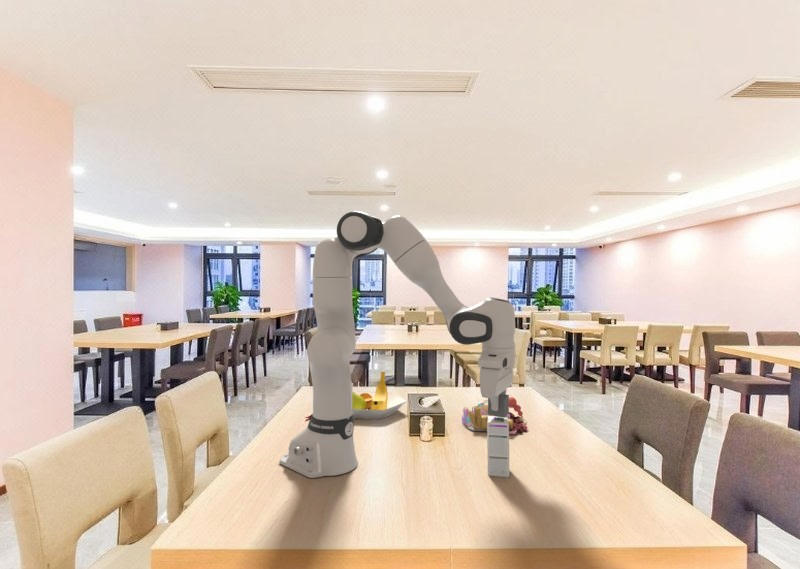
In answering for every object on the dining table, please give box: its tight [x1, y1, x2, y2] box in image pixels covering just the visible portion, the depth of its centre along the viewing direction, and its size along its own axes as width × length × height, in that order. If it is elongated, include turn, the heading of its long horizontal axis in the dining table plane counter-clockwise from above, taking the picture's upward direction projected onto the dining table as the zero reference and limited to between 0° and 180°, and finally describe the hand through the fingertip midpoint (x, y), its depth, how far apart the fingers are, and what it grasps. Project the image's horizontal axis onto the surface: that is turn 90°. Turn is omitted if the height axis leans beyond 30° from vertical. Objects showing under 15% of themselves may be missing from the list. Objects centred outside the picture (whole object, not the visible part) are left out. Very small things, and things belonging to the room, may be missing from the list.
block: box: [487, 394, 510, 418], centre depth 111 cm, size 4×4×5 cm
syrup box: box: [486, 416, 510, 478], centre depth 111 cm, size 6×6×14 cm
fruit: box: [352, 371, 407, 420], centre depth 165 cm, size 30×26×14 cm
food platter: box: [461, 396, 528, 435], centre depth 151 cm, size 25×24×9 cm
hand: (498, 407), depth 111 cm, fingers closed on block, 4 cm apart
